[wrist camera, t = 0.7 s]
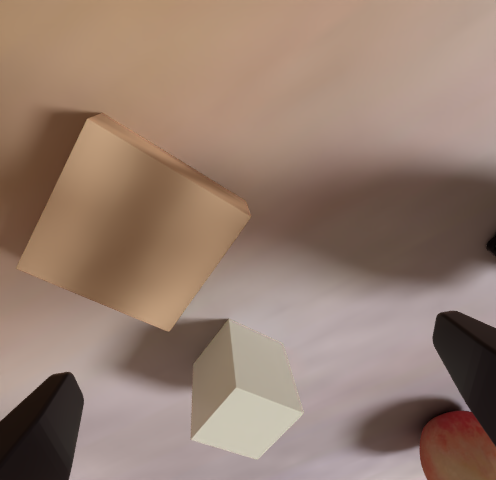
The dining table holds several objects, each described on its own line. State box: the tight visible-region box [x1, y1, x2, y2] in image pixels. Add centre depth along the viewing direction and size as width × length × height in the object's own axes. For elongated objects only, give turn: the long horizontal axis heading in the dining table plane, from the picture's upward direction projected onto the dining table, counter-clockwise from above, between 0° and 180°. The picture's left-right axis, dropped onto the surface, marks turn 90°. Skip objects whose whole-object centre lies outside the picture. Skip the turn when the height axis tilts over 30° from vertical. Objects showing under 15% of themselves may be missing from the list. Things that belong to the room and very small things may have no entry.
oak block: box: [16, 113, 251, 332], centre depth 19 cm, size 9×9×3 cm
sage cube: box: [191, 319, 304, 460], centre depth 23 cm, size 5×5×6 cm
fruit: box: [420, 411, 496, 480], centre depth 29 cm, size 8×8×8 cm
